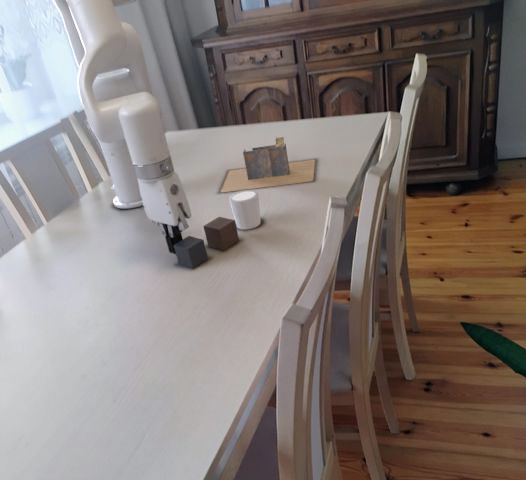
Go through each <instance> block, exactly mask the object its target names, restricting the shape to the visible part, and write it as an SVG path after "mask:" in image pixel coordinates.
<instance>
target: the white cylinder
mask: <svg viewBox="0 0 526 480" xmlns="http://www.w3.org/2000/svg"><path fill="white" fill-rule="evenodd" d="M228 201H229V205H230V208H231V211H232V215H233V217H234V218H233V219H234V220H235V223H236V228H237V229H238V230H246V231H247V230H252V229H255V228H257V227H258V226H260V225H261V223H262V222H261V221H262V220H261V210H260V197H259V192H258V191H257V190H253V189H245V190H239V191H236V192H234V193H233V194H231V195H230V196H229V197H228Z"/></svg>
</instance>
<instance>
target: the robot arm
mask: <svg viewBox="0 0 526 480" xmlns="http://www.w3.org/2000/svg"><path fill="white" fill-rule="evenodd" d="M51 1H52V2H53V5H55V7H56V8H57V10H58V12H59V14H60V17H61V18H62V22H63V24H64V29H65V31H66V34H67V37H68V41H69V44H70V47H71V50H72V53H73V57H74V59H75V62H76V64H77V67H78V74H77V91H78V96H79V99H80V102H81V106H82V108H83V111H84V113H85V116H86V118H87V121H88V124H89V127H90V129H91V131H92V134H93V135H94V136H95V137H96V139H97V140H98V142H99V145H100V147H101V151H102V154H103V157H104V160H105V164H106V167H107V169H108V172H109V175H110V178H111V181H112V184H113V185H111V186H110V190H111V191H112V192H115V194H116V196H115V197H114V198H113V201H112V202H113V205H114V207H115V208H116V209H122V210H123V209H124V210H125V209H126V210H127V209H135V208H138V207H142V206H143V208H144V212H145V215H146V217H147V218H148V220H150V221H152V223H153V224H155V225H157V226H158V227H159V228H160V231H161V233H162V235H163V236H164V238H165V242H166V245H167V249H168V252H169V253H170V254H174V255H176V252H175V249H174V245H175V244H176V243H178V242H180V241H181V240H183V239H184V238H183V236H182V233H183V231H186V230H187V229H189V228H190V227H189V223H188V221H187V220H188V219H191V218H192V210H191V208H190V204H189V200H188V197H187V194H186V192H185V188H184V185H183V184H182V181H181V179H180V177H179V175H178V173H177V172H176V171H175V168H174V164H173V160H172V157H171V151H170V150H169V145H168V141H167V137H166V134H165V129H164V126H163V122H162V118H163V117H162V109H161V106H160V103H159V100H158V99H157V98H156V97H155V96H153V91H152V87H151V86H152V85H151V81H150V77H149V74H148V73H149V72H148V69H147V65H146V60H145V55H144V51H143V47H142V43H141V40H140V37H139V34H138V33H137V31H136V29H135V27H133V25H131V24H130V23H128V22H125V21H121V20H120V17H119V14H118V13H117V9H116V8H117V7H118V8H119V7H122V6H127V5H130V4H134V3H136V1H137V0H51ZM122 69H127V70H125V71H121V72H118V73H113V74H108V75H104V76H101V77H98V76H99V75H102V74H106V73H111V72H114V71H118V70H122Z"/></svg>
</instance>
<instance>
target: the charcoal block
mask: <svg viewBox="0 0 526 480" xmlns="http://www.w3.org/2000/svg"><path fill="white" fill-rule="evenodd" d="M174 249H175V252H176V254H175V255H176V259H177V264H178V265H180V266H183V267H187V268H189V269H195V268H196V267H198V266H200V265H201V264H202V263H204V262H206V261H207V260H209V257H208V252H207V249H206V244H205V241H204V239H203V238H199V237H195V236H191V235H188V236H186V237H184V238H183V240H181V241H180V242H178V243H176V244H175V245H174Z"/></svg>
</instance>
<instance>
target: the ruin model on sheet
mask: <svg viewBox="0 0 526 480" xmlns="http://www.w3.org/2000/svg"><path fill="white" fill-rule="evenodd" d="M286 143H287V142H286ZM286 143H285V136H284V135H283V136H279V137H277V136H275V144H271V145H266V146H265V145H263V146H257V147H252V148H251V150H247V151H246V148H244V149H243V151H242V154H243V161H244V165H245V168H239V169H232V170H229V171H228V173H227V175H226V178H225V180H224V183H223V184H222V187H221V189H220V193H228V192H229V193H230V192H238V191H245V190H253V189H260V188H269V187H277V186H285V185H294V184H300V183H301V184H303V183H309V182H314V178H315V177H314V175H315V167H316V166H315V165H316V159H310V160H309V159H308V160H302V161H294V162H289V157H288V150H287V144H286Z"/></svg>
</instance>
